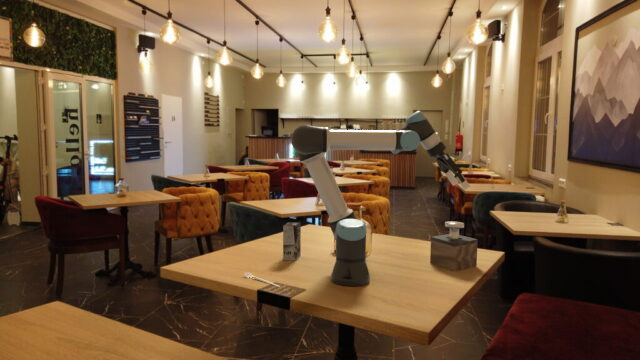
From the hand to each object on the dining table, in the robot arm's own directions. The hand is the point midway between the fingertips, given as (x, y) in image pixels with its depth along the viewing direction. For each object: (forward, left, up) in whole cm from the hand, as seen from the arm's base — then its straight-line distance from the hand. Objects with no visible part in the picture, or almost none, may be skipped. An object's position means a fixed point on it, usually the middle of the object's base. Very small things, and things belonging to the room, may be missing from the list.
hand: (461, 186), depth 191 cm
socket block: (+4, +6, -36) cm, 37 cm away
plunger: (+4, +6, -31) cm, 32 cm away
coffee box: (-53, +51, -36) cm, 82 cm away
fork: (-79, +28, -37) cm, 91 cm away
